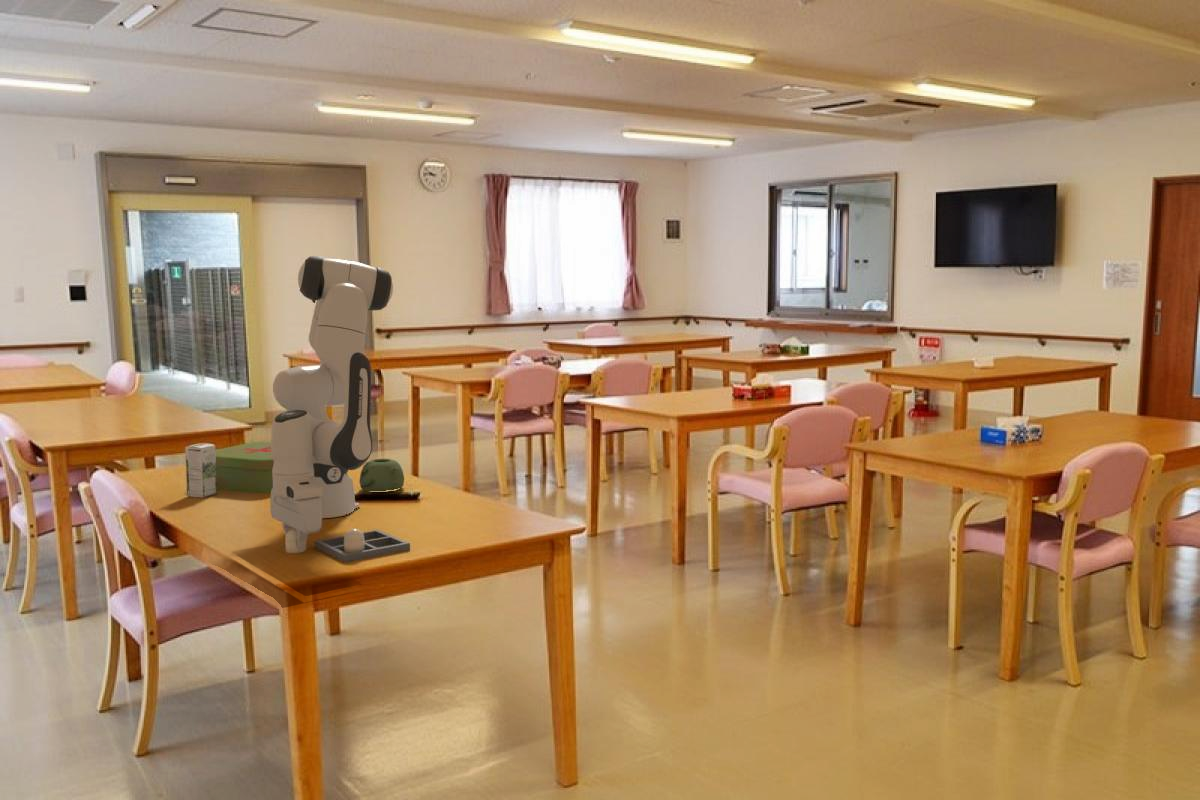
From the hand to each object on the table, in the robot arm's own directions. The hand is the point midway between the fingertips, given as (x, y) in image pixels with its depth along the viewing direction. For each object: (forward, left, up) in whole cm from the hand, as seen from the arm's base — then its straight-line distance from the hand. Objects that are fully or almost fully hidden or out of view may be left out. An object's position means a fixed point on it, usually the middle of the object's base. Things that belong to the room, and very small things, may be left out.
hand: (296, 544), depth 225 cm
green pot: (-48, +47, -2) cm, 67 cm away
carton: (+8, +12, -2) cm, 15 cm away
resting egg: (+12, +8, -1) cm, 15 cm away
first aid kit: (-82, +24, -3) cm, 85 cm away
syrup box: (-75, +4, -2) cm, 75 cm away
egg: (0, 0, -2) cm, 2 cm away
